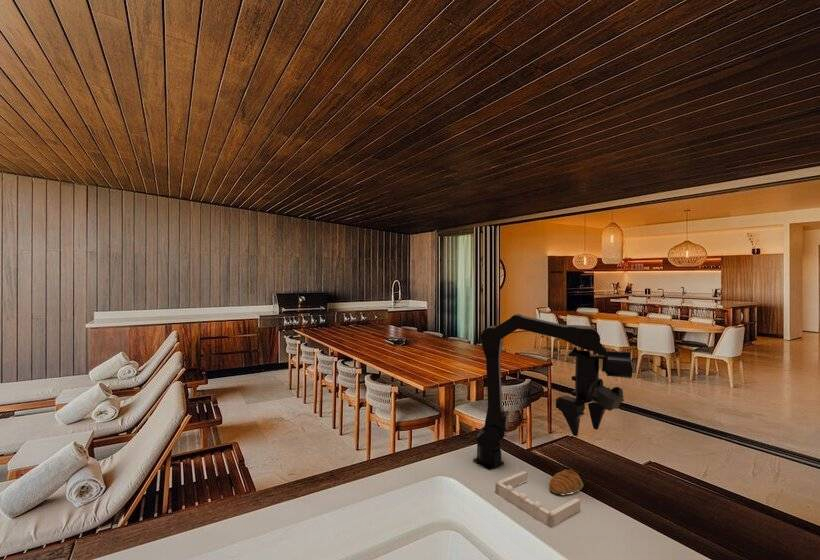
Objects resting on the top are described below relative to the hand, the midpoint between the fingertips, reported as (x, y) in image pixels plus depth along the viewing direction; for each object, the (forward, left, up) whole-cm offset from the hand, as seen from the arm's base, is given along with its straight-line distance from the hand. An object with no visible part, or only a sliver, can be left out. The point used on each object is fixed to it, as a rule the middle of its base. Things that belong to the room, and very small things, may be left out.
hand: (585, 432), depth 101 cm
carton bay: (-1, -18, -13) cm, 22 cm away
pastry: (-1, -7, -14) cm, 15 cm away
